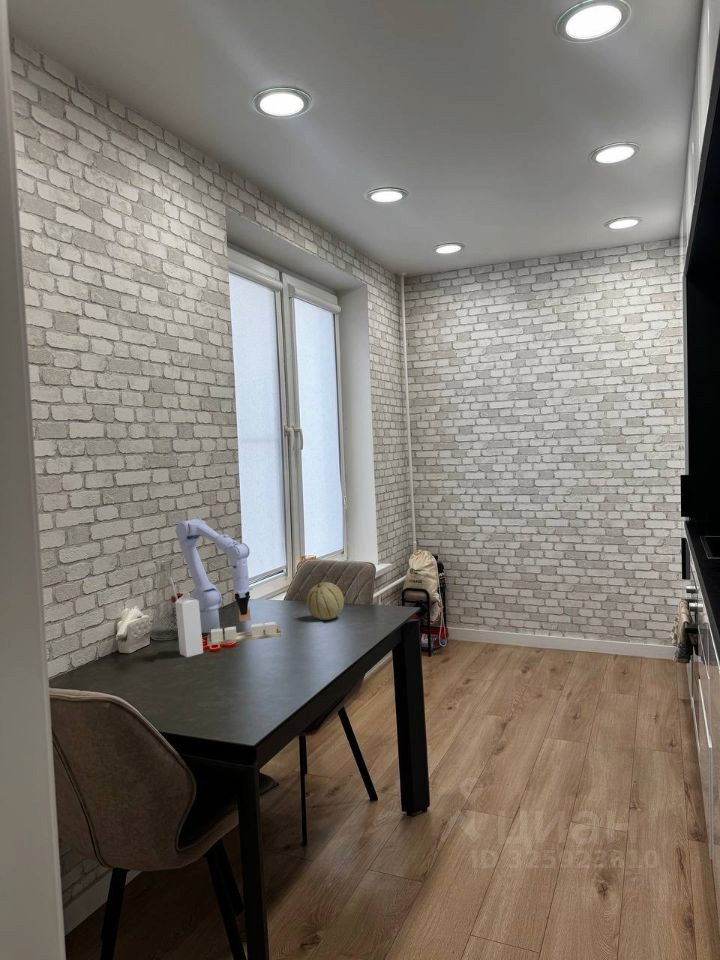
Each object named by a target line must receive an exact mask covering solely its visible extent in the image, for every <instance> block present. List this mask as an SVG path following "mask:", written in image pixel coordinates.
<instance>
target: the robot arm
mask: <svg viewBox="0 0 720 960" xmlns="http://www.w3.org/2000/svg"><path fill="white" fill-rule="evenodd" d="M174 531H175V533H176V536H177V539H178V542H179V547H180V550H181V552H182V555H183V558H184V560H185V563H186V565H187V568H188V571H189V573H190V576H191V579H192V582H193V584H194V586H195V588H194V590H193V591H192V593H191V595H192V598H193V599H196V600H198V601H199V611H200V622H201V633H203V634H211V629H219V628H221V627H220V617H219V616H220V615H219V608H220V604H222V603H221V602H222V597H223V596H222V594H221V592H220V590H218V589H217V586H216V585H215V584H214V583H212V582H210V580H209V578H208V575H207V573H206V570H205V567H204V565H203V562H202V560H201V557H200V554H199V551H198V549H197V546H196V544H197V541H199V539H200V538H201V536H202V537H203V538H205V539H207V540H209V541H210V542H213V543H214V546H215V548H216V549H218V550H219V551H221V552H223V553H224V554H225V555H226V557H227V558H228V560H229V565H230V566H231V573H232V585H233V586H232V587H233V589H232V591H233V593H234V595H233V596H234V600H235V601H236V603H237V606H238V611H239V610H240V613H241V615H247V609H248V606H249V601H250V598H251V592H250V591H253V588H254V587H253V586H250V580H249V567H248V559H247V558H248V557H249V556H250V547H249V546H248V545H247V544H246V543H245V542H241V543H239V542H238V541H237V540H234V539H233V538H231V537H229V536H230V535H228V534H220V533H218V532H217V531H215V530H214V529H213V528H212V527H210V526H209V525H208V524H207V522H206V521H205V520H203V519H201V518H199V517H197V518H194V519H193V518H192V519H188V520H181V521H179V522H177V525H176V527H175V529H174Z"/></svg>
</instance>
